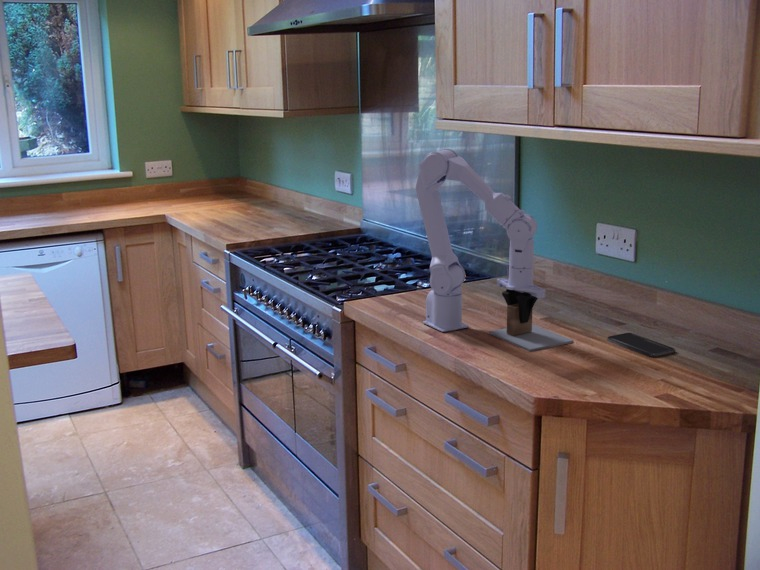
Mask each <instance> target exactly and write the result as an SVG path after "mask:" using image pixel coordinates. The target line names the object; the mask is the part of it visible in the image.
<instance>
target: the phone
mask: <svg viewBox="0 0 760 570" xmlns="http://www.w3.org/2000/svg"><path fill="white" fill-rule="evenodd" d="M606 341H608V342H609V343H612V344H613V345H614V344H615V345H617V346H619V347H622V348H625V349H627V350H629V351H633V352H635V353H637V354H640V355H642V356H645V357H648V358H651V359H654V358H655V359H656V358H659V357H664V356H665V357H666V356H669V355H673V354H676V348H674V347H672V346H670V345H666V344H664V343H661V342H658V341H655V340H654V339H653V340H652V339H650V338H647V337H644V336H642V335H639V334H637V333H633V332H625V333H620V334H614V335H610V336H609V335H608V336H607V340H606Z"/></svg>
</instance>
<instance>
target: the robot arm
mask: <svg viewBox="0 0 760 570" xmlns="http://www.w3.org/2000/svg"><path fill="white" fill-rule="evenodd" d="M418 167H419V172H418V176H417V180H416V184H415V192H416V196H417V200H418V203H419V204H418V205H419V208H420V213H421V217H422V221H423V225H424V229H425V233H426V238H427V241H428V245H429V250H430V254H431V260H430V265H429V270H430V278H429V285H430V288H431V290H430V291H429V292H428V293H427V295H426V298H425V299H426V300H425V320H423V324H425V325H426V326H429V327H430V328H432V329H435V330H437V331H439V332H441V333H445V332H451V331H456V330H462V329H468V328H469V327H470V325H468V324H466V323H464V322H462V321H463V318H462V317H463V315H462V314H463V308H462V307H463V290H462V286H461V285H463V284H464V282H465V279H466V271H465V269H464V267H463V266H462V265H461V263H460V262H459V257H458V256H457V254H455V253H454V251H453V246H452V243H451V239H450V235H449V230H448V227H447V222H446V217H445V213H444V210H443V209H444V208H443V204H442V201H441V197H440V192H439V190H440V188H442V186H443V184H444V183H445V181H446V180H448V181H456V182H460V183H462V184H463V185H464V186H465V187H466V188H467V189H469V190H470V191H471V192H472V193H473V194H474V195H475V196H477V197H478V198H479V199H480V200H481V201H482V202H483V203H484V206H485V207H484V209H485V211H486V213H487V214H489V215H490V216H491V217H492V218H493V219H494V221H496V222H497V223H498V224H499V225H500V226H501V227H502V228H503V229H505V230H506V236H507V237H508V239H509V248H508V249H509V253H508V254H509V255H508V256H509V257H508V278H503V277H502V278H497V279H496V287H497V288H505V290H504V291H502V293H501V294H502V295H501V296H502V297H503V299H504V300H505V303H506V305H507V306H508V305H512V304H517V303H518V305H519V319H520V323H526V322H528V320H529V317H530V313H531V310H532V311H533V308H534V306H535V304H536V302H537V300H538V299H545V298H546V289H544V288H542V287H539V286H538V285H536V284H534V257H535V256H534V255H535V248H534V244H535V242H534V241H535V240H534V239H535V237H534V236H535V234H536V232H537V230H538V223H537V222H536V219H534V216H533V215H531V214H528V213H526V211H525V210H524V209H520V208H519V207H518V206H517V205H516V204H514V202H513V201H512V200H511V199H512V197H511V196H510V195H509V194H504V193H503V192H494V190H493V189H492V188H491V187H490V186H489V185H488V184H487V183H486V182H485V181H484V180H483V179H482V177H481V176H480V175H479V174H477V172H476V171H475V170H474V169H473V167H471V166H470V165H469V164H468V162H467V161H466V160H465V159H464V158H463V156H459V154H458V153H457V152H456V151H455V150H453V149H450V148H444V149H442V150H438V151H431V152H429V153H427V154H426V155H425V156H424V158H423V159H422V161H420V162H419V164H418ZM507 306H506V307H507Z"/></svg>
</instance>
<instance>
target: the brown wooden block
mask: <svg viewBox="0 0 760 570" xmlns="http://www.w3.org/2000/svg"><path fill="white" fill-rule="evenodd" d="M532 324H533V309H532V310H531V313H530V317H529V320H528V322H526V323H520V319H519V305H518V303H517V304H512V305H508V306H506V328H507V334H510V335H512V336H516V335H520V334H523V333H527V332H531V331H532Z"/></svg>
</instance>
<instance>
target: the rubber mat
mask: <svg viewBox="0 0 760 570" xmlns="http://www.w3.org/2000/svg"><path fill="white" fill-rule="evenodd" d="M487 333H488V334H489V335H492V336H494V337H496V338H499V339H500V340H503V341H504V342H508V343H509V344H512V345H514V346H516V347H518V348H521V349H523V350H525V351H527V352H534V351H535V352H536V351H539V350H544V349H549V348H552V347H558V346H562V345H566V344H567V345H568V344H573V343H574V340H573V339H571V338H569V337H566V336H563V335H560V334H558V333H556V332H553V331H550V330H549V329H547V328H543V327H541V326H538V325H535V324H533V323H532V331H531V332H527V333H523V334H520V335H516V336H512V335H510V334H507V327H505V328H498V329H493V330H489V331H488V332H487Z"/></svg>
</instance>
